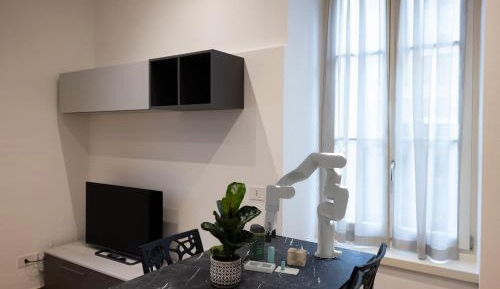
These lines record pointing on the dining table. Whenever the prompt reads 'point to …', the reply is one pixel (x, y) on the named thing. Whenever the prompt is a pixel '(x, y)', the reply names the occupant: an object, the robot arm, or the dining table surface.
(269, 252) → the pin
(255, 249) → the coffee jar
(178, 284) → the dining table surface
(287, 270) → the card
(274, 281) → the dining table surface
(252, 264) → the socket board
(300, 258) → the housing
